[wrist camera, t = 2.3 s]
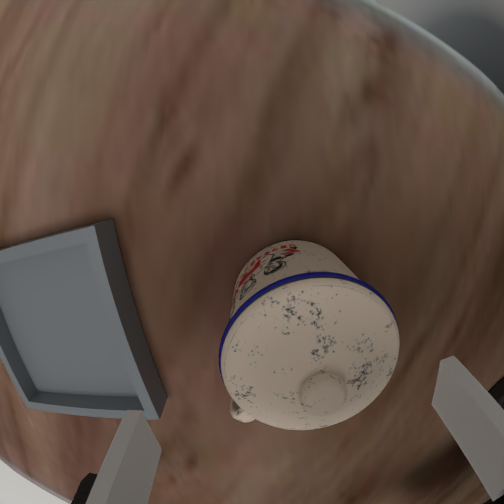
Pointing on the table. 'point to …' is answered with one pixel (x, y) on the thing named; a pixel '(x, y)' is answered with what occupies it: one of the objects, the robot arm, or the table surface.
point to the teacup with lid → (305, 339)
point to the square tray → (75, 327)
